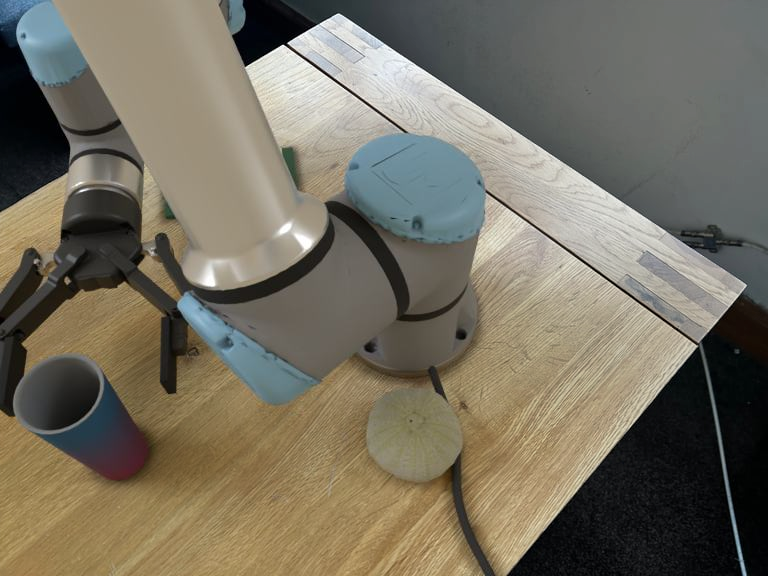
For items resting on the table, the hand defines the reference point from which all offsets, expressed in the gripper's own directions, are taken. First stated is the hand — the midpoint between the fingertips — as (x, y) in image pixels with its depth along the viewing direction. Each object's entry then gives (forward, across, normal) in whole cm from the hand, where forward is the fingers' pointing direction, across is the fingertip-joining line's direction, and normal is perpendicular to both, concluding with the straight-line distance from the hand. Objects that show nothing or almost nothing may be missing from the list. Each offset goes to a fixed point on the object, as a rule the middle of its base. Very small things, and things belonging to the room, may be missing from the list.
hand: (88, 399), depth 57 cm
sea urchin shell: (+5, -28, -9) cm, 30 cm away
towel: (-31, -12, -9) cm, 34 cm away
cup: (+2, 0, -9) cm, 9 cm away
